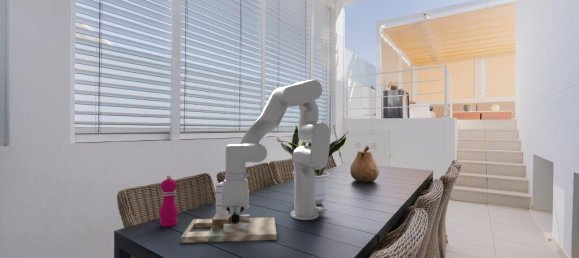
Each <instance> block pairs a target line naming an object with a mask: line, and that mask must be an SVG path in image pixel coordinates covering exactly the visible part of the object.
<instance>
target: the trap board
mask: <svg viewBox="0 0 579 258" xmlns="http://www.w3.org/2000/svg"><path fill="white" fill-rule="evenodd" d="M212 219H213V218H195V219H192V221H191V222H190V223H189V225H188V226H187V228H186V229H185V231H184V232H183V234H182V235H181V236H180V243H181V244H182V243H185V244H186V243H212V242H241V241H242V242H243V241H244V242H245V241H271V240H272V241H273V240H275V241H276V240H277V230H276V229H277V228H276V221H275V217H272V216H271V217H251V214H239V222H238V224H233V223H231V224H224V229H212Z"/></svg>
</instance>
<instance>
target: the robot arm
mask: <svg viewBox="0 0 579 258" xmlns="http://www.w3.org/2000/svg"><path fill="white" fill-rule="evenodd" d="M322 94H323V86H322V83H321V82H320V81H318V80H316V79H309V80H304V81H299V82H295V83H293V84H291V85H286V86H281V87H278V88H275V89H274V90H273V92H272V93H271V94H270V97H269V99H268V101H267V102H266V105H265V106H264V108H263V109H262V112H261V114H260V115H259V117H258V118H257V120H255V122H253V124H252V125H251V126H250V127H249V128H248V130H247V131H246V132H245V134H244V136H243V138H242V140H241V141H240V143H229V144H227V145H226V146H225V179H224V180H223V181H222V182H223V188H222V206H221V209H223V210H227V211H228V212H229V213H230V214H231V223H233V224H238V222H239V215H241V213H242V212H243V211H244V210H248V209H250V207H251V206H250V189H249V181H248V178H250V173H248V172H246V167H247V166H246V164H247V163H251V164H252V163H253V164H255V163H256V164H258V163H262V162H263V161H264V160H266V158H267V155H268V150H267V148H266V146H264V145H263V144H261V143H260V142H261V140H262V139H263V138H264V137H265V136H266V135H267V134H269V133H271V132H272V131H274V130H276V129H277V128H279V125H280V123H281V122H282V121H283V117H284V116H285V114H286V111H287V109H288V108H292V107H298V108H299V119H298V131H297V137H298V139H299V140H300V141H301V142H303V143H307V144H310V145H299V146H296V148H295V149H293V152H292V157H291V158H292V164H293V173H294V178H293V179H294V181H293V183H294V186H293V188H294V190H293V193H294V194H293V210H292V211H291V212H290V216H291V218H293V219H296V220H300V221H310V220H311V221H312V220H316V219H317V218H319V213H326V211H327V208H326V207H323V206H317V205H316V180H317V179H316V173H315V170H323V169H324V168H325V167H326V166H327V164H328V162H329V161H328V160H329V154H330V147H331V146H330V145H331V130H330V127H329V125H327V124H326V123H325V122H324V121H319V114H320V113H319V107H318V104H317V102H316V100H318V99H320V97H321V96H322ZM235 208H236V211H235Z"/></svg>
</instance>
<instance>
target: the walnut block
mask: <svg viewBox="0 0 579 258" xmlns="http://www.w3.org/2000/svg"><path fill="white" fill-rule="evenodd" d="M211 219H212V229H224V224H231V214H216V213H215V215H214V216H213V218H211Z"/></svg>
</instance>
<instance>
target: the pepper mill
mask: <svg viewBox="0 0 579 258" xmlns="http://www.w3.org/2000/svg"><path fill="white" fill-rule="evenodd" d="M177 183H178V182H177V181H176V180H175V179H172V175H170V174H168V175H167V176H166V179H163V181H162V182H161V183H160V188H161V190H162V191H161V193H162V194H161V195H162V196H163V201H162V205H161V207H160V209H159V211H158V212H159V215H158V217H159V218H160V227H165V228H167V227H173V226H176V225H177V223H178V218H177V217H178V215H179V208H178V207H177V204H176V201H175V195H176V188H177V186H178V184H177Z"/></svg>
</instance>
